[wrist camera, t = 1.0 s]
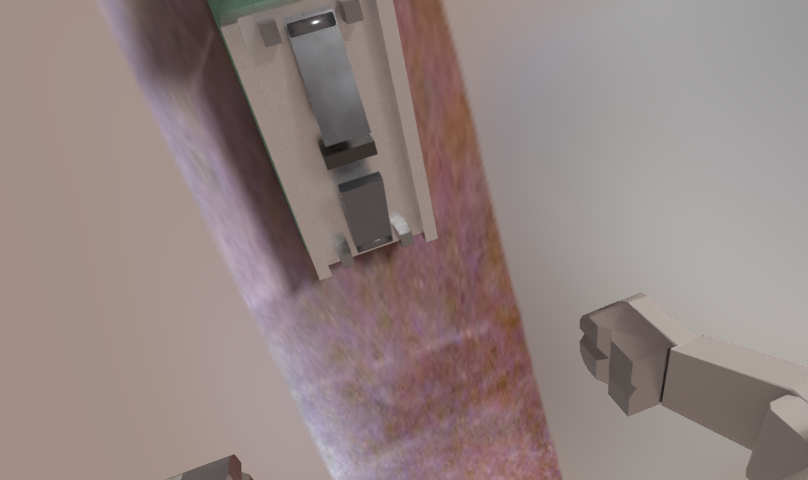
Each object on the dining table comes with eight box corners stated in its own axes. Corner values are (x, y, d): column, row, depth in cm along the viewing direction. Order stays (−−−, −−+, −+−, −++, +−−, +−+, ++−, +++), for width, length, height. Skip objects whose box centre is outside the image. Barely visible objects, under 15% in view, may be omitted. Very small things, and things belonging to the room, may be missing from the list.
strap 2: (389, 233, 40) (394, 242, 39) (355, 245, 39) (358, 255, 39) (379, 171, 33) (383, 181, 33) (337, 184, 33) (341, 195, 33)
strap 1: (284, 25, 29) (284, 21, 28) (332, 12, 30) (333, 8, 29) (325, 146, 31) (326, 147, 30) (369, 132, 32) (371, 132, 31)
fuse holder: (206, -4, 31) (203, 12, 26) (368, -46, 33) (396, -40, 28) (306, 250, 44) (318, 295, 38) (420, 211, 45) (447, 249, 40)
